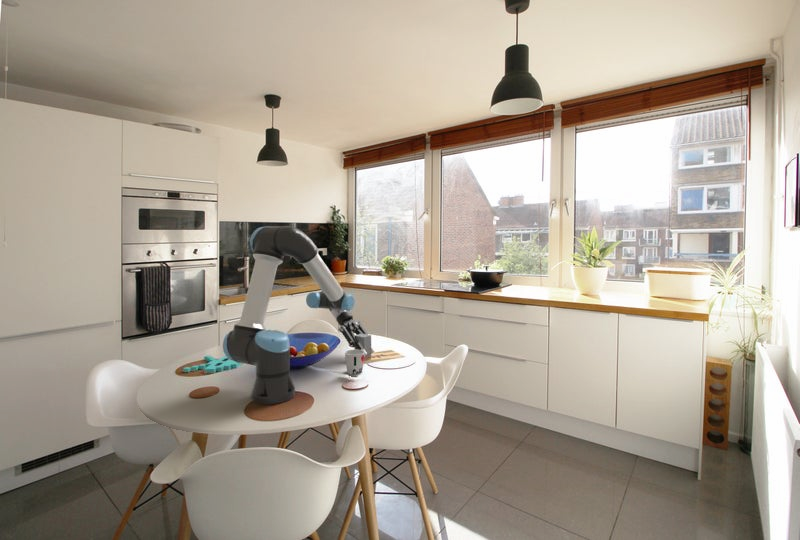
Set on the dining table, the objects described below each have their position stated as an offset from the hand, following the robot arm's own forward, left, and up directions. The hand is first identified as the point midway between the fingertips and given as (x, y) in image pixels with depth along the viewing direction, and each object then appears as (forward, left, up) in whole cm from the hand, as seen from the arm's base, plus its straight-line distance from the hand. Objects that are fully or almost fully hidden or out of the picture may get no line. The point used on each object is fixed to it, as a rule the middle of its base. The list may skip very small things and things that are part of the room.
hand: (369, 354), depth 186 cm
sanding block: (+3, +2, -3) cm, 5 cm away
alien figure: (+31, +61, -5) cm, 68 cm away
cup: (-12, +12, -5) cm, 18 cm away
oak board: (+3, -6, -4) cm, 8 cm away
